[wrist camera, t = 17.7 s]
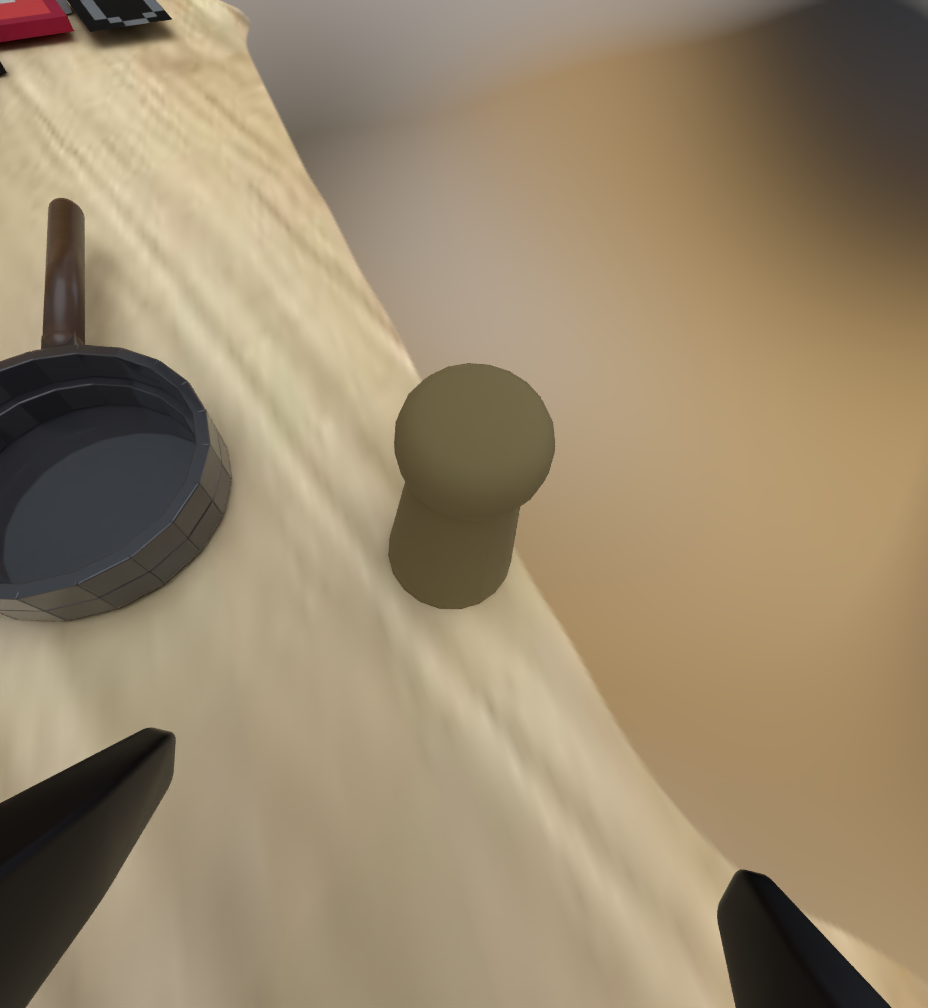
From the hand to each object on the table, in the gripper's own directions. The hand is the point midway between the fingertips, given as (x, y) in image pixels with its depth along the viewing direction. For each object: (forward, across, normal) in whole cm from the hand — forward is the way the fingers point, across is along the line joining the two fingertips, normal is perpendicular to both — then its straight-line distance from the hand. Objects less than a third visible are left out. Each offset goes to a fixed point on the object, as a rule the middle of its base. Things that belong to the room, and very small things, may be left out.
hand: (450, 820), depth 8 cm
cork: (+17, +1, +3) cm, 17 cm away
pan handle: (+22, +24, -5) cm, 33 cm away
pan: (+16, +18, +4) cm, 24 cm away
